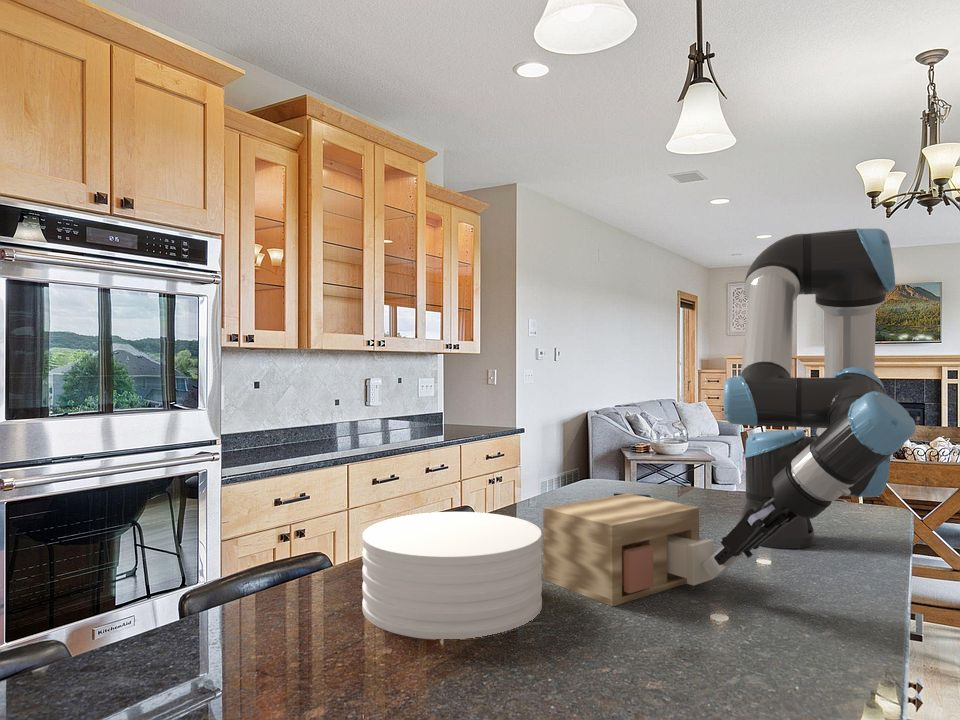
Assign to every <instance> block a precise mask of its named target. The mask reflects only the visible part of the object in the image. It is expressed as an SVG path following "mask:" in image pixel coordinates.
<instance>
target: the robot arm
mask: <svg viewBox="0 0 960 720" xmlns="http://www.w3.org/2000/svg"><path fill="white" fill-rule="evenodd" d="M893 259H894V258H893V253H892V248H891V242H890V238H889V236H888V234H887V232H886V231H885V230H883V229H881V228H858V227H856V228H848V229H841V230H840V229H839V230H829V231H820V232H811V233H796V234H791V235H788V236H785V237H783V238H781V239H778V240H776V241H775V242H773V243H772V244H770V245H769V246H767V247H766V248H764V250H762V252H760V254H759V255H757V256H756V258H755V260H754V261H753V262H752V263H751V265H750V267H749V268H748V270H747V272H746V275H745V279H744V287H743V288H744V290H743V291H744V295H745V297H746V299H747V301H748V303H747V304H748V305H747V312H746V313H747V314H746V321H745V331H744V339H743V340H744V341H743V349H742V356H741V357H742V359H741V365H740V367H741V368H740V375H737V376H733V377H727V378H726V380H725V382H724V386H723V395H722V396H723V397H722V399H723V400H722V401H723V405H722V406H723V413H724V417H725V420H726V421H727V422H728V423H729V424H731V425H739V426H751V427H781V428H782V427H786V428H787V427H788V428H789V427H791V428H794V427H795V428H811V429H812V428H815V429H816V432H815V433H816V435H815V436H806V432H805V431H804V430H803V429H779V430H778V429H776V430H769V431H760V432H755V433H752V434H751V435H749V436H748V437H747V438H746V440H745V454H744V458H745V502H744V506H743V508H742V510H741V511H742V512H741V513H740V517H739V520H738V523H737V524H736V525H735V526H734V527H733V528H732V530H731V531H730V532H729V533H728V534H727V535H726V536H724V537H722V541H720V543H721V547H720V548H719V549H718V550H716V551H714V554H713V555H712V556H711V557H710V558H709V559H707V560H706V561H705V562H704V563H703V564H702V565H703V566H704V568H705V569H706V571H707V572H708V574H709V575H710V577H711V578H712V580H715V579H717V578H719V577H720V576H722V574H724V573H725V572H726V571H727V570H728V569H729V568H730V567H732V566H733V565H734V564H735V563H737V561H739V560H740V559H741V558H743V556H744V555H745V556H746V557H747V559H749V558H751V557H752V556H754V555H753V553H752V552H751V551H752V549H753V550H757V549H759V547H761V546H762V547H769V548H774V549H775V548H777V549H802V548H803V549H804V548H810V547H812V546H814V545H815V541H816V540H815V539H816V538H815V537H816V535H815V530H814V527H813V524H812V521H811V519H814V518H817V516H819V515H820V514H821V513H822V512H823V511H825V510H826V509H827V508H828V507H830V506H831V505H832V502H833V501H836V500H838V499H839V498H840V497H841V496H845V497H854V498H876V497H877V498H878V497H879V496H881V495H882V494H883V492H884V491H885V490H886V488H887V487H886V486H887V483H888V481H889V480H888V479H889V475H890V469H891V468H890V467H891V463H890V462H891V456H892V455H894V454H895V453H896V452H898V451H899V450H901V448H902V447H903V445H904V444H905V443H907V441H908V440H910V438H911V437H913V435H914V434H915V433H916V429H917V426H916V422H915V419H914V418H913V417H912V416H910V413H909V411H907V409H906V408H905V407H903V405H901V403H899V402H898V401H897V400H896V399H893V398H892V397H891V396H889V395H888V393H887V391H886V389H885V387H884V384H883V382H882V381H881V379H880V378H879V377H878V375H876V374H875V368H876V367H875V364H876V363H875V362H876V361H875V360H876V359H875V357H876V356H875V355H876V320H877V319H876V318H877V317H876V315H877V313H876V312H877V309H878V308H879V307H881V306H882V305H883V304H884V303H885V302H886V293H890V292H892V291H894V290H895V289H896V276H895V275H896V274H895V265H894V260H893ZM799 295H805V296H806V295H815V305H816V306H818V307H820V309H821V310H822V311H823V312H824V313H823V314H824V315H823V317H824V321H823V322H824V331H823V333H824V336H823V337H824V340H823V341H824V345H823V346H824V347H823V349H824V353H823V355H824V362H823V363H824V377H792V364H793V363H792V362H793V334H794V333H793V330H794V328H793V326H794V302H795V301H796V299H797V298H798V297H799Z"/></svg>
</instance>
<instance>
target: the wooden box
mask: <svg viewBox="0 0 960 720" xmlns="http://www.w3.org/2000/svg"><path fill="white" fill-rule="evenodd" d="M634 494H635V493H630V492H629V493H625V494H622V495H616V496H612V495H611V496H605V497H598V498H593V499H587V500H581V501H575V502H570V503H564V504H558V505H552V506H547V507H545V506H544V507H543V508H542V510H543V511H542V515H543V516H542V517H543V519H542V520H543V521H542V522H543V523H542V524H543V525H542V530H543V535H542V541H543V542H542V543H543V544H542V545H543V546H542V547H543V548H542V550H543V551H542V555H543V556H542V559H543V565H542V566H543V567H542V572H543V573H542V575H543V580H544V581H546V582H548V583H551V584H553V585H556V586H558V587H561V588H563V589H567V590H569V591H571V592H574V593H576V594H579V595H582V596H584V597H586V598H590V599H592V600H593V601H597V602H600V603H602V604H605V605H608V606H611V607H615V606H619V605H621V604H625V603H628V602H632V601H635V600H637V599H641V598H644V597H647V596H650V595H653V594H656V593H660V592H663V591H667V590H671V589H673V588H676V587H679V586H682V585H686V584H687V578H684V577H680V576H677V575H674V574H671V573H667V535H670V534H671V535H676V536H680V537H684V538H688V539H692V540H696V541H700V507H699V506H695V505H689V504H684V503H678V502H674V501H669V500H664V499H658V498H654V497H653V498H649V497H644V496H639V495H634ZM624 545H632V546H635V547H641V546H645V545H650V546H653V587H650V588H647V589H643V590H640V591H637V592H633V593H627V592H624V586H622V546H624Z"/></svg>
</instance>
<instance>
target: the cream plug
mask: <svg viewBox="0 0 960 720" xmlns="http://www.w3.org/2000/svg"><path fill="white" fill-rule="evenodd" d="M714 553H715V540H714V539H709V538H706V539H702V540H699V541H696V540H692V539H688V538H684V537H680V536H676V535H671V534H670V535H667V573H671V574H674V575H677V576H680V577H684V578H687V583H686V584H687V585H690V586H697V585H699V584H702V583H705V582H709V581H712V580H713V579H712V578H711V577H710V575H709V574H708V572H707V571H706V569H705V568H704V566H703V565H702V564H703V563H704V562H705V561H706V560H707V559H709V558H710V557H711V556H712V555H713V554H714Z"/></svg>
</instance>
